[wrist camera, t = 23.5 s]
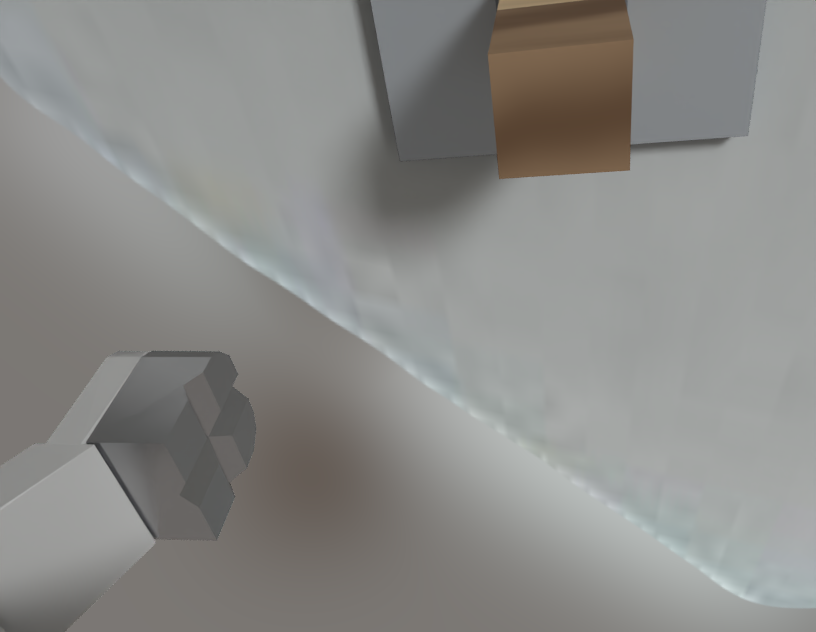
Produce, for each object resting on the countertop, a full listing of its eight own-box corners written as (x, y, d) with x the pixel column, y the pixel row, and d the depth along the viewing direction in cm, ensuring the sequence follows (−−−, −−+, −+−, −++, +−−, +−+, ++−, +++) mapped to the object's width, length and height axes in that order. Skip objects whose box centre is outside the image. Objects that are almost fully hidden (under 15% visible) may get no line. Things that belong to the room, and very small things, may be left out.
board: (357, -106, 34) (351, -101, 33) (782, -174, 30) (790, -169, 29) (403, 151, 42) (399, 162, 41) (743, 125, 38) (748, 136, 37)
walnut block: (496, 10, 30) (487, 54, 26) (623, -5, 29) (633, 39, 25) (506, 124, 33) (499, 178, 29) (621, 115, 32) (629, 170, 28)
